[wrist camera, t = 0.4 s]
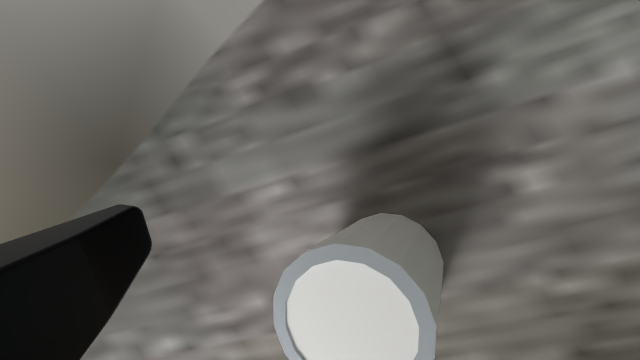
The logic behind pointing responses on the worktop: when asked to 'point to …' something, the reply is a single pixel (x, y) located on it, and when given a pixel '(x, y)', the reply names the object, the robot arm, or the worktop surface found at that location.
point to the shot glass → (363, 294)
